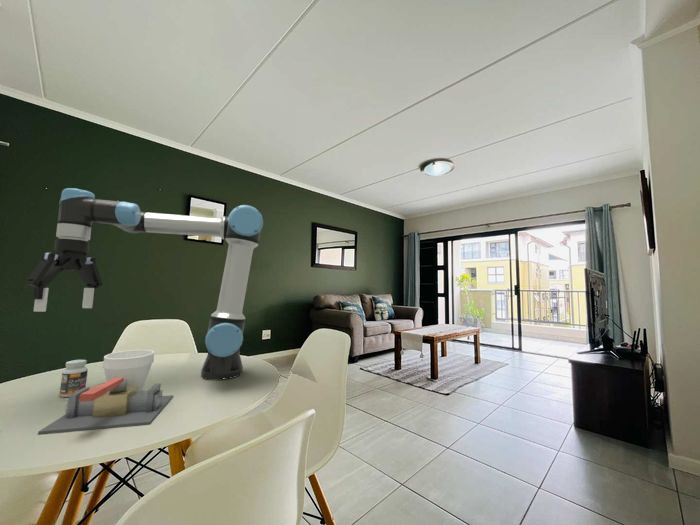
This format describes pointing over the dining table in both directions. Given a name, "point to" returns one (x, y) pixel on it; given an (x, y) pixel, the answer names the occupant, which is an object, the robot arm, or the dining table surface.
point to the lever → (104, 389)
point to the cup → (129, 366)
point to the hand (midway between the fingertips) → (65, 309)
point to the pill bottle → (73, 377)
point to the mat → (104, 420)
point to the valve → (115, 402)
